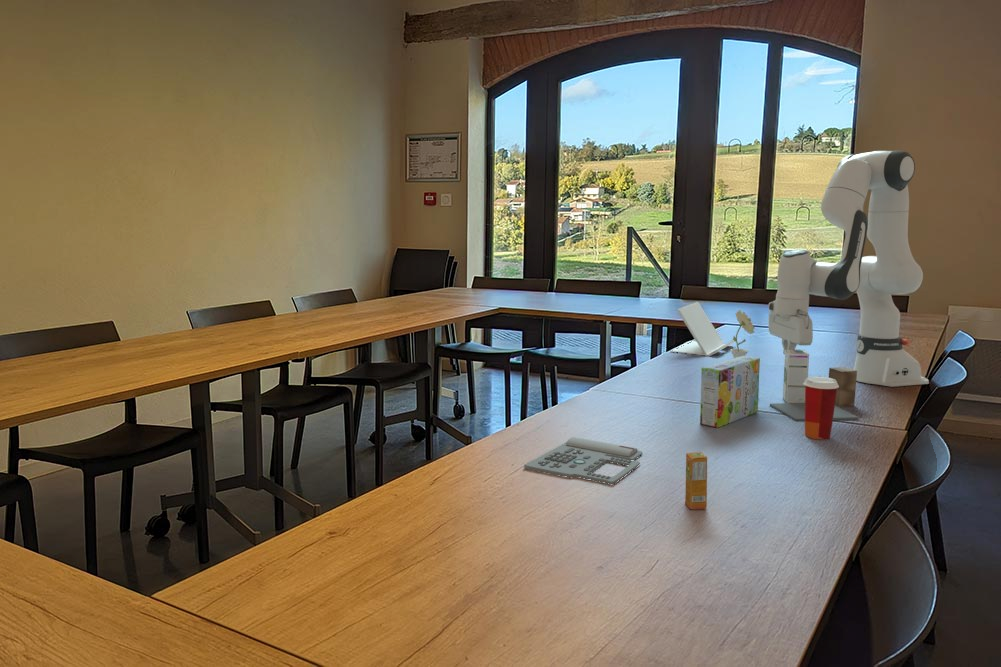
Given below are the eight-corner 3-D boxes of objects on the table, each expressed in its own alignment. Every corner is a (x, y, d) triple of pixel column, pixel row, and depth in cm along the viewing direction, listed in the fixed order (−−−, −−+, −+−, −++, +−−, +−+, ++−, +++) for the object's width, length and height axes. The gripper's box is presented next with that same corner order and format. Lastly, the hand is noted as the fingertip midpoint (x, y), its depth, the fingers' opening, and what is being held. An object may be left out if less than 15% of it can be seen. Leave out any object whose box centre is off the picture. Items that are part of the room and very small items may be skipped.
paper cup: (833, 433, 184) (837, 377, 181) (836, 442, 177) (840, 384, 174) (798, 430, 186) (802, 375, 184) (800, 439, 179) (804, 381, 177)
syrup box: (807, 404, 210) (810, 353, 208) (784, 403, 212) (788, 352, 209) (803, 399, 216) (806, 349, 213) (781, 398, 217) (784, 348, 215)
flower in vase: (759, 403, 212) (765, 314, 208) (717, 400, 214) (722, 313, 210) (754, 391, 224) (759, 308, 220) (714, 389, 227) (718, 307, 223)
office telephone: (573, 432, 178) (654, 446, 168) (573, 442, 178) (654, 457, 168) (523, 458, 159) (611, 477, 148) (523, 470, 159) (611, 489, 149)
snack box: (739, 408, 206) (742, 354, 203) (758, 412, 202) (762, 357, 200) (697, 424, 191) (700, 366, 189) (717, 429, 187) (721, 369, 185)
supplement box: (682, 503, 141) (685, 451, 139) (700, 502, 141) (703, 451, 139) (688, 510, 137) (691, 457, 136) (707, 509, 138) (709, 457, 136)
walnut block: (841, 401, 214) (844, 366, 212) (854, 405, 209) (857, 370, 207) (826, 402, 213) (829, 367, 211) (838, 407, 208) (841, 371, 206)
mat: (828, 404, 210) (828, 402, 210) (858, 419, 196) (858, 417, 196) (769, 405, 209) (769, 403, 209) (795, 421, 194) (795, 418, 194)
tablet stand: (669, 352, 284) (671, 308, 281) (689, 342, 306) (691, 300, 303) (718, 357, 275) (720, 311, 272) (734, 347, 297) (737, 304, 294)
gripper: (820, 312, 204) (816, 362, 206) (786, 303, 224) (783, 348, 227) (798, 312, 204) (794, 363, 206) (765, 303, 224) (762, 349, 226)
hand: (788, 355), depth 216 cm, fingers closed
